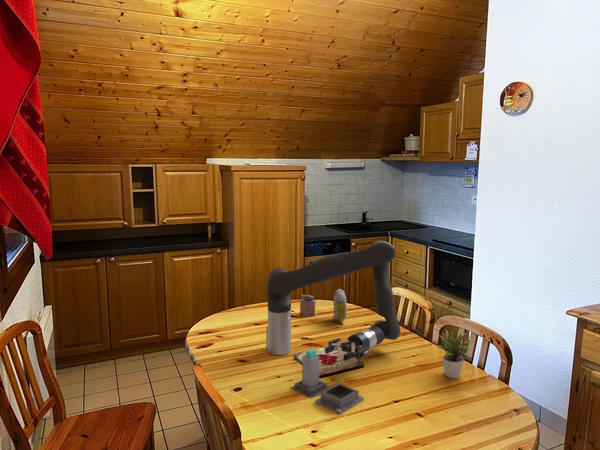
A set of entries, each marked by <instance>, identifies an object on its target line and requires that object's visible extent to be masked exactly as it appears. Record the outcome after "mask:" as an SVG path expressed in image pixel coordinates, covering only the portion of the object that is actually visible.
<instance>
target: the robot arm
mask: <svg viewBox="0 0 600 450" xmlns="http://www.w3.org/2000/svg"><path fill="white" fill-rule="evenodd" d="M395 257H396V249H395V247H394V246H393V245H392V244H391V243H389V242H387V241H385V240H381V239H380V240H375V241H373V242H371V244H370V245H369V246H368V247H366V248H363V249H359V250H355V251H347V252H338V253H334V254H330V255H326V256H323V257H321V258H320V257H319V258H318V259H316V260H313V261H311V263H309V264H307V265H305V266H303V267H300V268H297V269H294V270H286V269H285V268H281V267H278V268H274V269H272V270H271V271H270V272H269V274H268V276H267V280H266V281H267V286H266V287H267V297H266V298H267V326H266V328H265V329H266V330H265V332H266V333H265V334H266V337H265V339H266V340H265V342H266V348H265V349H266V350H267V351H268V352H267V353H269V354H271V355H274V356H283V355H288V354H290V353H291V352H292V300H291V299H292V297H291V292H294V291H296V290H299V289H301V288H304V287H307V286H310V285H315V284H319V283H322V282H326V281H330V280H334V279H338V278H340V277H343V276H346V275H350V274H352V273H355V272H357V271H361V270H363V269H367V268H372V274H373V280H374V281H373V282H374V292H375V293H374V294H375V304H376V305H375V306H376V313H377V315H378V316H380V317H382V318H384V319H385V320H381V319H380V320H377V321H375V322H374V323H373V324H372V325H371V326H370V327H368V328H366V329H363V330H362V329H361V330H359V331H358V332H355V333H353V334H350V335H349V336H348V337H347V340H341V338H340V337H338V338H335V339H332V340H330V341H328V342H327V346H325V347H324V354H330V353H331V352H333V351H334V352H335V351H337V352H338V353H340V352H341V353H342V352H345V353H344V354H343V358H342V359H343V361H345V362H346V361H349V360H351V359H355V358H356V360H361V359H362V358H364V357H366V356H368V351H370V350H371V349H373V348H374V347H376V346H377V345H380V344H381V343H383V341H384V339H385V340H391V341H392V340H393V341H395V340H397V339H398V338H399V337H400V335H401V326H400V323H399V320H398V316H397V314H396V311H395V301H394V292H393V288H392V285H391V280H390V275H389V264H390V263H391V262H392V261H393V260H394V259H395Z"/></svg>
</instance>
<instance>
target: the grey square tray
mask: <svg viewBox="0 0 600 450" xmlns="http://www.w3.org/2000/svg"><path fill="white" fill-rule="evenodd" d="M330 387H331V386H329V385H328V384H327V383H326V382H324V381H322V380H320V379H319V385H318V386H316V387H314V388H312V389H310V388H308V387H305V386H303V385H302V380H299V381H297V382H295V383H294V385H293V386H291V387H289V389H291V390H293V391H294V392H296V393H299V394H301V395H303V396H306V397H307V398H310V399H311V400H312V399H313V398H315V397H317V396H319V395H321V392H322V391H324V390H326V389H328V388H330Z"/></svg>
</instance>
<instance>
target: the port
mask: <svg viewBox="0 0 600 450" xmlns="http://www.w3.org/2000/svg"><path fill="white" fill-rule="evenodd" d="M329 387H330V388H328V389H326V390H324V391H322V392H321V394H320V397H319V398H317V399H315V400H314V401H315V403H314V404H317V405H319V406H322V407H323V408H325V409H327V410H329V411H332V412H334V413H335V414H337V415H342V414H344V413H345V412H347V411H349V410H350V409H352V408H353V407H355V406H356V405H358V404H360V403H361V402H364V400H365V397H363V396H361V395H359V393H360V392H359V390H357V389H355V388H352V387H350V386H348V385H345V384H343V383H341V382H338V383H336V384H334V385H331V386H329Z"/></svg>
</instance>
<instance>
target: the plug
mask: <svg viewBox="0 0 600 450" xmlns="http://www.w3.org/2000/svg"><path fill="white" fill-rule="evenodd" d="M301 360H302V362H301V363H302V366H301V368H302V370H301V371H302V372H301V373H302V374H301V376H302V385H303V386H305V387H308V388H310V389H312V388H314V387H316V386H318V385H319V380H320V356H319V355H317V350H315V349H313V348H309V349H307V350H305V354H304V355H303V356H302V359H301Z"/></svg>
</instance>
